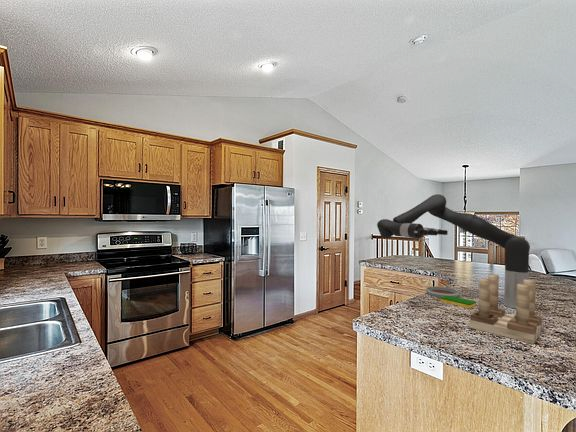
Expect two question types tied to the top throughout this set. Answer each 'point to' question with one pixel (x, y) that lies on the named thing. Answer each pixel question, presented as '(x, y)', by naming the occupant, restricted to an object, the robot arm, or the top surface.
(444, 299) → the dish sponge
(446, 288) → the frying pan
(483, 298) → the stool leg
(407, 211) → the robot arm
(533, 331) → the stool seat
